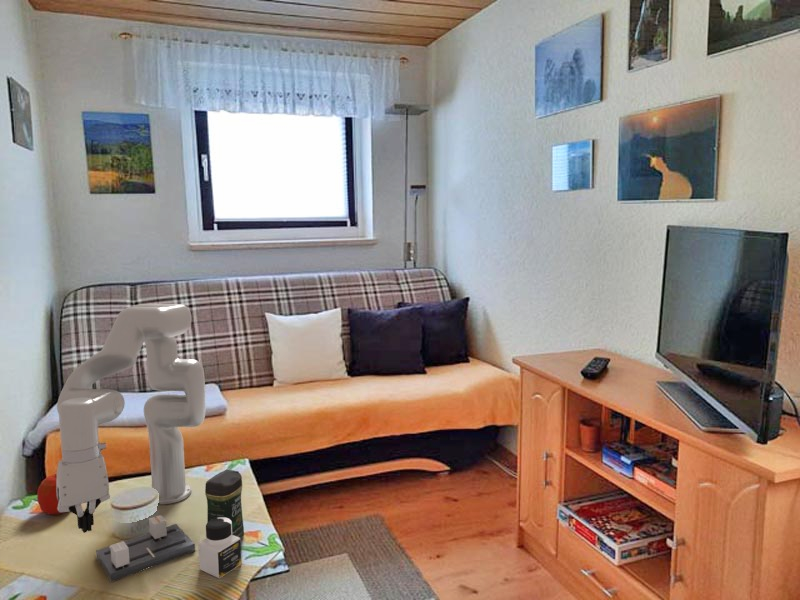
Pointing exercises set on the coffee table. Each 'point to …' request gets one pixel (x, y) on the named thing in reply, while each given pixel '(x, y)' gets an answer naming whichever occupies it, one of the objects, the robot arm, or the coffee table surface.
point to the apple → (48, 495)
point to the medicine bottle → (219, 548)
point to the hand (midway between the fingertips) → (86, 529)
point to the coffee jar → (226, 499)
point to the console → (147, 552)
